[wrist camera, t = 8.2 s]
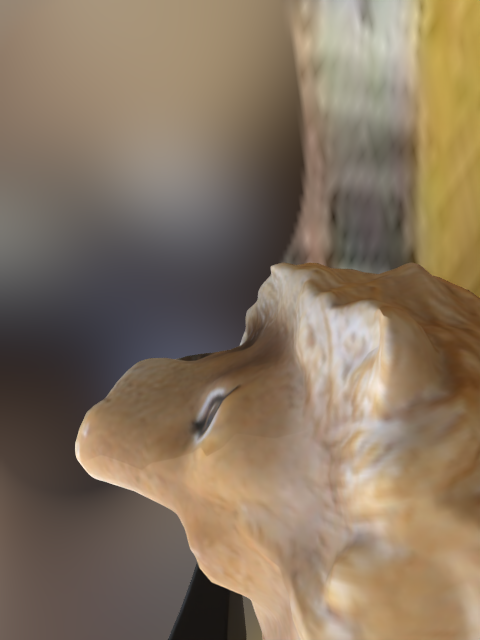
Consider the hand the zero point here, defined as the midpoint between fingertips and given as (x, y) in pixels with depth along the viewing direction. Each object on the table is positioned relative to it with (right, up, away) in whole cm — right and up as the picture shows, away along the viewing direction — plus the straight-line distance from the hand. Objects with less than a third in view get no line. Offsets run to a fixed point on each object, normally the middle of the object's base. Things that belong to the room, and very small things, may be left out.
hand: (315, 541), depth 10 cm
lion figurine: (-1, +1, +2) cm, 2 cm away
